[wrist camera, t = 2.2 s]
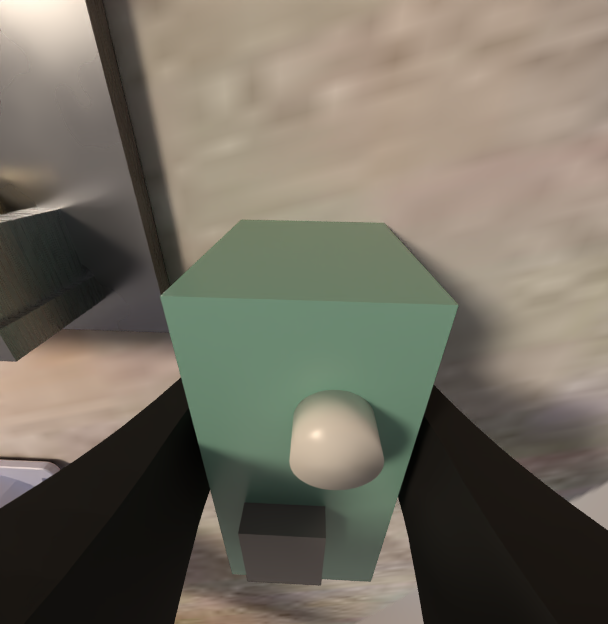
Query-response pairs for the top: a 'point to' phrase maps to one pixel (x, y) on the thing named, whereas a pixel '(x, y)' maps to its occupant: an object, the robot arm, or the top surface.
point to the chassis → (70, 183)
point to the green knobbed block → (307, 388)
